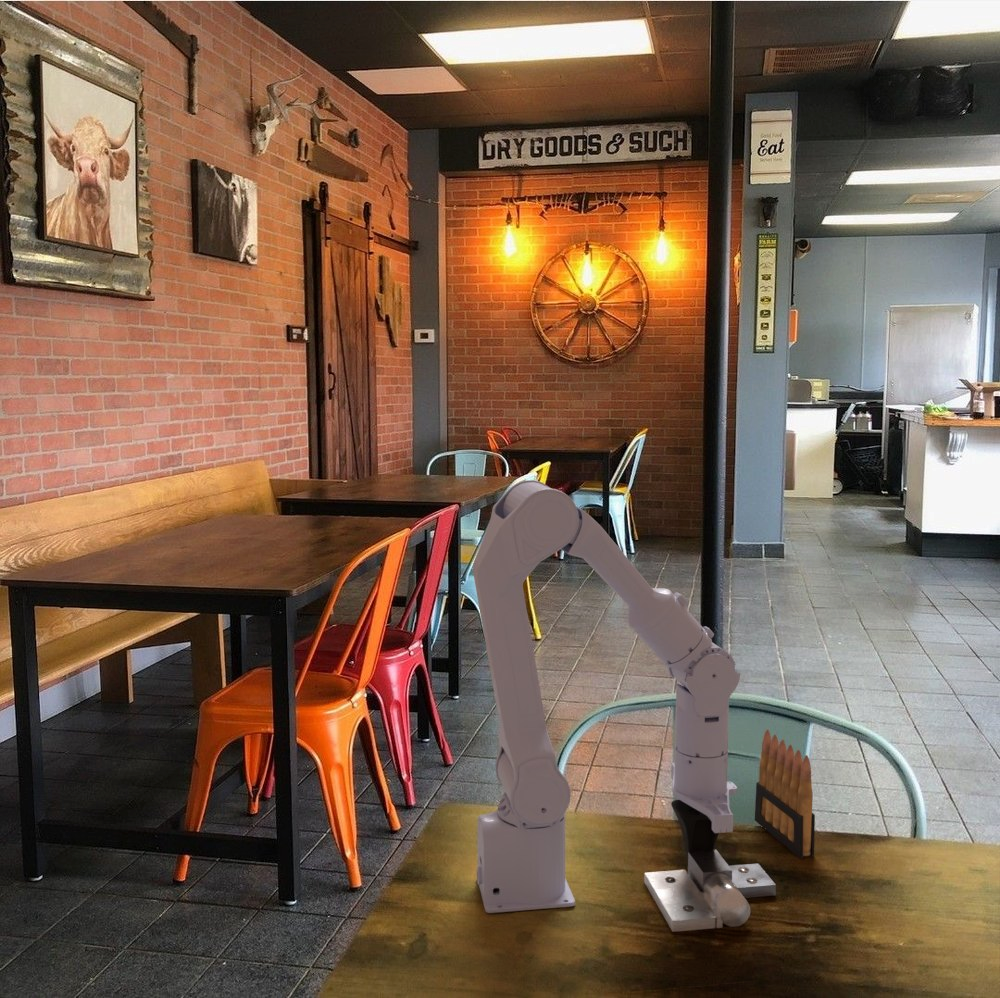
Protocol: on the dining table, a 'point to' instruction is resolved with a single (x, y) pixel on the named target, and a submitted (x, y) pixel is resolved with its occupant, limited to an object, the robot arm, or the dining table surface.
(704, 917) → the fixed leaf
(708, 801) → the robot arm
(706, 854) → the loose leaf
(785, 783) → the ammunition clip
